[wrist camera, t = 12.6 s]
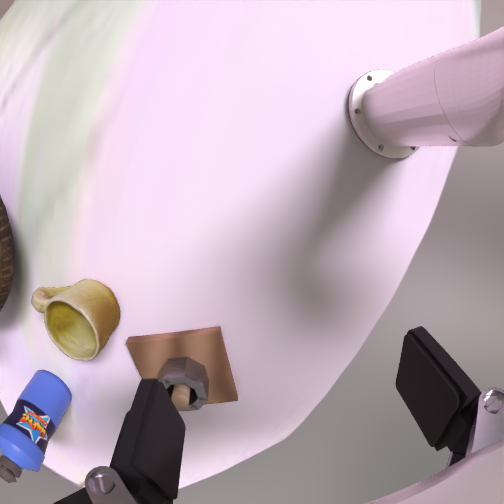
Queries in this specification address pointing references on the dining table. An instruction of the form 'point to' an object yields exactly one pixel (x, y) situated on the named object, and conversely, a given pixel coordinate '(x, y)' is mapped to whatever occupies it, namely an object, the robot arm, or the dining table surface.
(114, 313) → the mug
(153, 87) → the dining table surface
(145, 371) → the post block
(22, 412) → the water bottle
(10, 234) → the ceramic pot
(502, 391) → the robot arm
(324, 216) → the dining table surface
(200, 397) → the collar
